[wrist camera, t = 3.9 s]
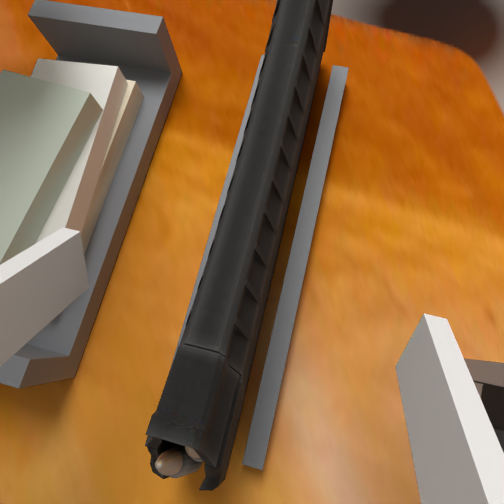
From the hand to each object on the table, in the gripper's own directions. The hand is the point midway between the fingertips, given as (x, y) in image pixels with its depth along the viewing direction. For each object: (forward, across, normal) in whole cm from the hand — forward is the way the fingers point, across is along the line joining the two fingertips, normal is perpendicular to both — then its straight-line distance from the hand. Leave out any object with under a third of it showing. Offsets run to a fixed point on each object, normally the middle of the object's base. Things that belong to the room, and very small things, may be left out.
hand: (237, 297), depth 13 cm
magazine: (+12, -1, -3) cm, 12 cm away
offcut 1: (+7, -16, 0) cm, 18 cm away
